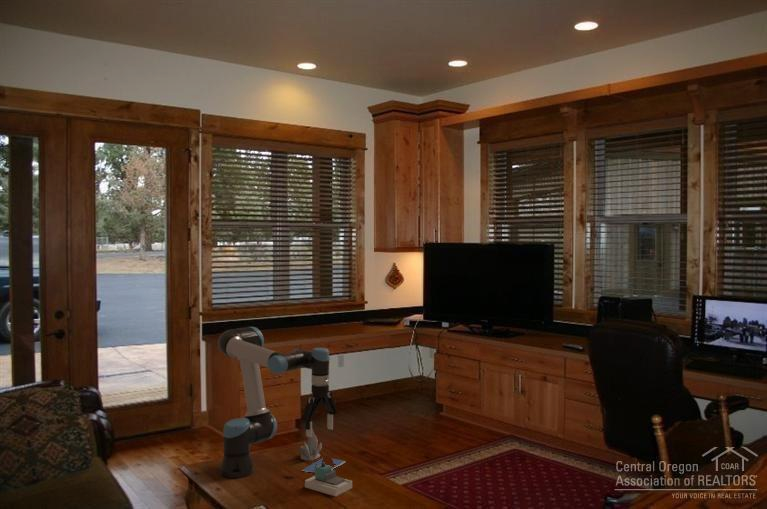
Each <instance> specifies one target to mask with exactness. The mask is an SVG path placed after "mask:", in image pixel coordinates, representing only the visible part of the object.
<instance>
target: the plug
mask: <svg viewBox="0 0 767 509" xmlns="http://www.w3.org/2000/svg"><path fill="white" fill-rule="evenodd" d="M331 471H333V470H332V466H330V465H326V464H325V462H322V463H321V464H320V465H318V466H316V467H315V474H314V476H315V479H318V481H321V482H324V475H325V474H327V473H329V472H331Z"/></svg>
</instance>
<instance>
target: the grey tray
mask: <svg viewBox="0 0 767 509" xmlns="http://www.w3.org/2000/svg"><path fill="white" fill-rule="evenodd" d="M344 479H345V481H344V482H342V483H340V484H338V485H336V486H335V485H331V484H328V483H324V482H321V481H318V479H315V475H314V476H311V477H309V478H307V479H305V480H304V488H306V489H310V490H311V491H312V490H313V491H316V492H318V493H319V492H320V493H323V494H327V495H330V496H333V497H338V496H340V495H341V494H344V493H345V492H347V491H349V490H351V489H353V480H350V479H346V478H344Z"/></svg>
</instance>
